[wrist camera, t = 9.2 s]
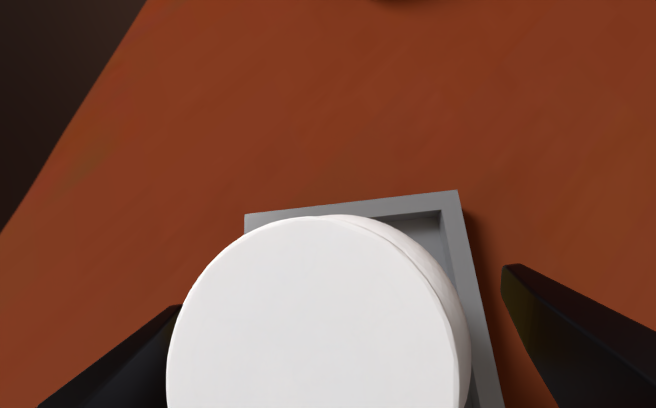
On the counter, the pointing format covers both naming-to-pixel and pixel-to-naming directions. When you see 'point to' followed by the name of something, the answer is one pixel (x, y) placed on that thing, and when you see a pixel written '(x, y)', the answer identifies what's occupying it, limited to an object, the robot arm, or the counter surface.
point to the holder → (445, 247)
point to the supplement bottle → (321, 323)
